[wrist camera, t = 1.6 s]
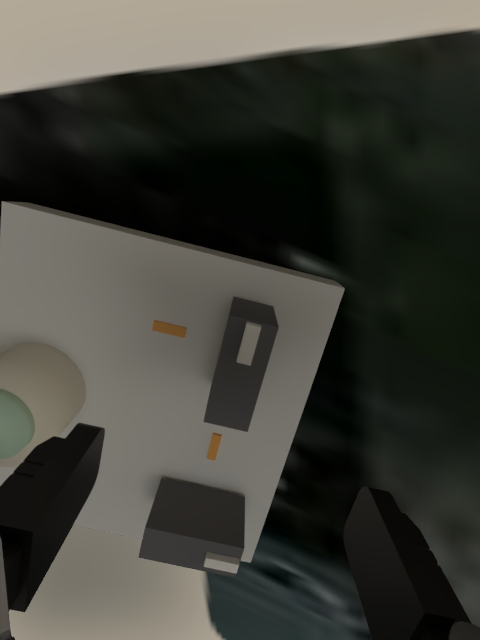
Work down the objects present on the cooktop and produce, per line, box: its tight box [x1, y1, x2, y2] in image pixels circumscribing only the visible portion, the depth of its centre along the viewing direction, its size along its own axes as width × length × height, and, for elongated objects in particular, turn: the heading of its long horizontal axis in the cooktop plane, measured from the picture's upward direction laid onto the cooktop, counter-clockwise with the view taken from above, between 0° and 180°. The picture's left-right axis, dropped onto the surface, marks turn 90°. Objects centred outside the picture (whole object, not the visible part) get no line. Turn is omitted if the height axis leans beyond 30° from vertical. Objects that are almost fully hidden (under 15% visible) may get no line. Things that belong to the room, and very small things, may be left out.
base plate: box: [0, 201, 345, 563], centre depth 22 cm, size 20×22×7 cm
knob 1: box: [203, 297, 279, 432], centre depth 19 cm, size 2×6×4 cm, turn 166°
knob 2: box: [139, 478, 245, 578], centre depth 23 cm, size 2×6×4 cm, turn 76°
